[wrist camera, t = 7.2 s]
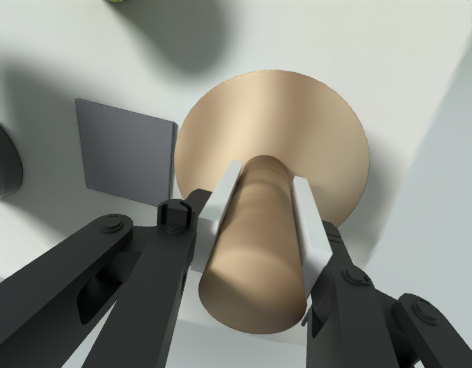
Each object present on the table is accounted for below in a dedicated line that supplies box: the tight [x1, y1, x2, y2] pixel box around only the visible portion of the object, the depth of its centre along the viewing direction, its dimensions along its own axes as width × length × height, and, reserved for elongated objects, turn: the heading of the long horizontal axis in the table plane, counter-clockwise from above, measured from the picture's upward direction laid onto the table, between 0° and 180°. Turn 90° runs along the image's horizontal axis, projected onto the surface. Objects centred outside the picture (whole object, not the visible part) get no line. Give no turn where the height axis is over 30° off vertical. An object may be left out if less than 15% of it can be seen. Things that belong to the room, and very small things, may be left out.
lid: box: [174, 70, 369, 334], centre depth 12 cm, size 14×14×12 cm
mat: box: [75, 99, 174, 207], centre depth 27 cm, size 12×12×1 cm
